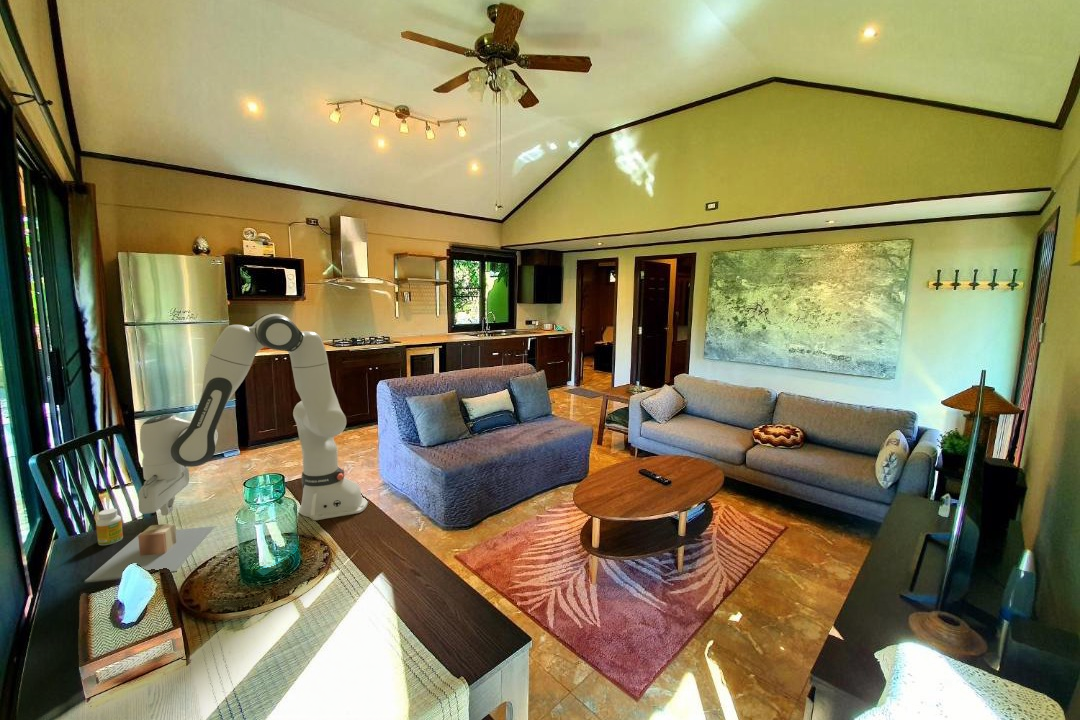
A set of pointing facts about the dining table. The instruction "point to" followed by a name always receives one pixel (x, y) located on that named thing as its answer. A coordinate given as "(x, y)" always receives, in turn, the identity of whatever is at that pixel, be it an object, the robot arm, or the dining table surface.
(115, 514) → the supplement bottle
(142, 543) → the birch block
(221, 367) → the robot arm
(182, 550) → the slate mat
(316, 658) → the dining table surface
